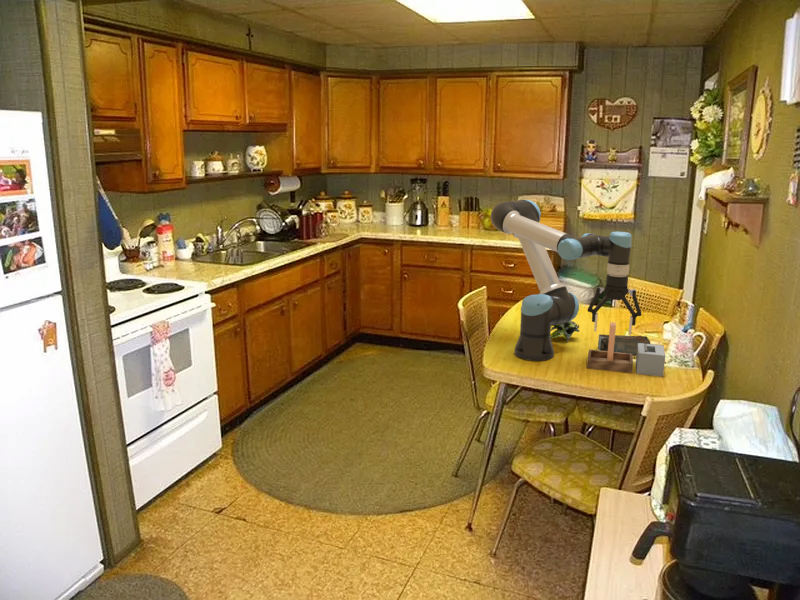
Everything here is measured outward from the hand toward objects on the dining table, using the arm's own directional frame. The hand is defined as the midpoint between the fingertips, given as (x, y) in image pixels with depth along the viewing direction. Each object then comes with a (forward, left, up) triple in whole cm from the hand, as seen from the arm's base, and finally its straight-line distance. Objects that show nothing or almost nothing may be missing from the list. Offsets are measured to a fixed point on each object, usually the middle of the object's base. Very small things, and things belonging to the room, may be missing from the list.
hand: (612, 332), depth 240 cm
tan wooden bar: (0, 0, -12) cm, 12 cm away
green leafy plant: (-18, +26, -13) cm, 35 cm away
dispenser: (+14, 0, -13) cm, 19 cm away
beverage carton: (+5, +18, -14) cm, 23 cm away
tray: (0, 0, -13) cm, 13 cm away
